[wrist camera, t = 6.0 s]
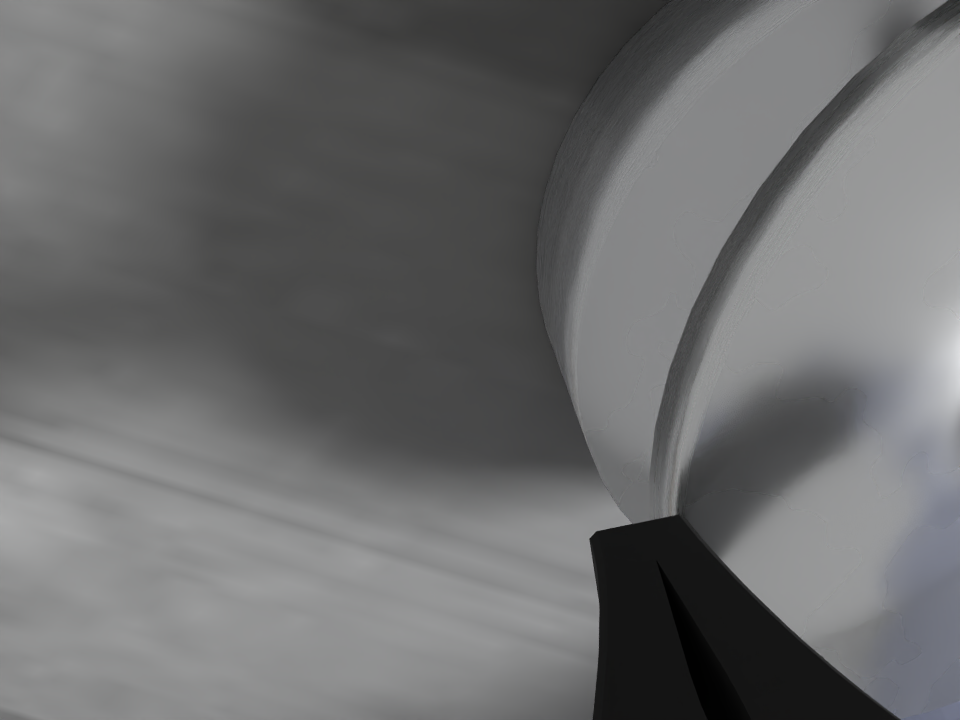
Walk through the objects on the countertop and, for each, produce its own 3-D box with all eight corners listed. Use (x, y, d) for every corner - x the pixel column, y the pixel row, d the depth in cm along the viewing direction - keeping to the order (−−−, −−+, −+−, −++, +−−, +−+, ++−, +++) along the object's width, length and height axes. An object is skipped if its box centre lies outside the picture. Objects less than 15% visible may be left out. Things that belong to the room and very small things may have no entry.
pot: (1051, 414, 24) (1200, 532, 19) (574, 512, 24) (615, 651, 19) (1294, -755, 13) (1771, -1096, 8) (398, -559, 13) (403, -792, 8)
